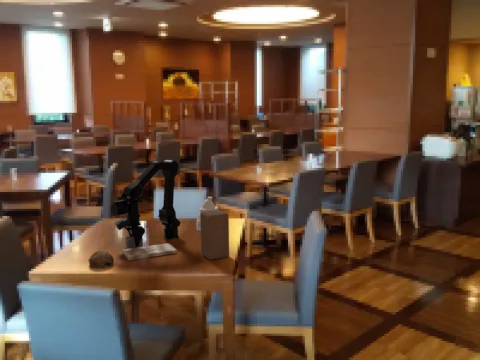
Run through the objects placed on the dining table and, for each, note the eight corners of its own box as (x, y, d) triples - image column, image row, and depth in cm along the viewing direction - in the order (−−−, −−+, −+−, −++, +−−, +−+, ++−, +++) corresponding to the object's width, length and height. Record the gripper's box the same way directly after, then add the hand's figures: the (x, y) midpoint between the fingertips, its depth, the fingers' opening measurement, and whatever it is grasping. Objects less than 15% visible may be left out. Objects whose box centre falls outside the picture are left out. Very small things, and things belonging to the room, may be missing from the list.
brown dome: (97, 278, 199) (102, 262, 196) (81, 264, 203) (86, 249, 200) (115, 270, 207) (120, 256, 204) (99, 257, 211) (104, 243, 208)
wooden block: (209, 260, 208) (208, 216, 204) (200, 254, 216) (199, 211, 213) (230, 257, 212) (229, 213, 209) (220, 251, 221) (219, 208, 218)
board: (168, 246, 230) (168, 243, 229) (176, 253, 219) (176, 249, 219) (122, 252, 220) (122, 249, 220) (128, 260, 209) (128, 257, 209)
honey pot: (225, 229, 259) (224, 196, 256) (205, 233, 251) (205, 200, 248) (210, 224, 269) (210, 193, 266) (192, 228, 261) (191, 196, 258)
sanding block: (140, 245, 232) (140, 235, 231) (143, 247, 228) (142, 237, 227) (126, 247, 229) (125, 237, 228) (128, 249, 225) (127, 239, 224)
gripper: (111, 210, 230) (113, 241, 233) (120, 218, 214) (122, 252, 216) (134, 207, 235) (136, 238, 238) (144, 215, 219) (146, 248, 221)
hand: (134, 244), depth 228 cm, fingers open, 9 cm apart
